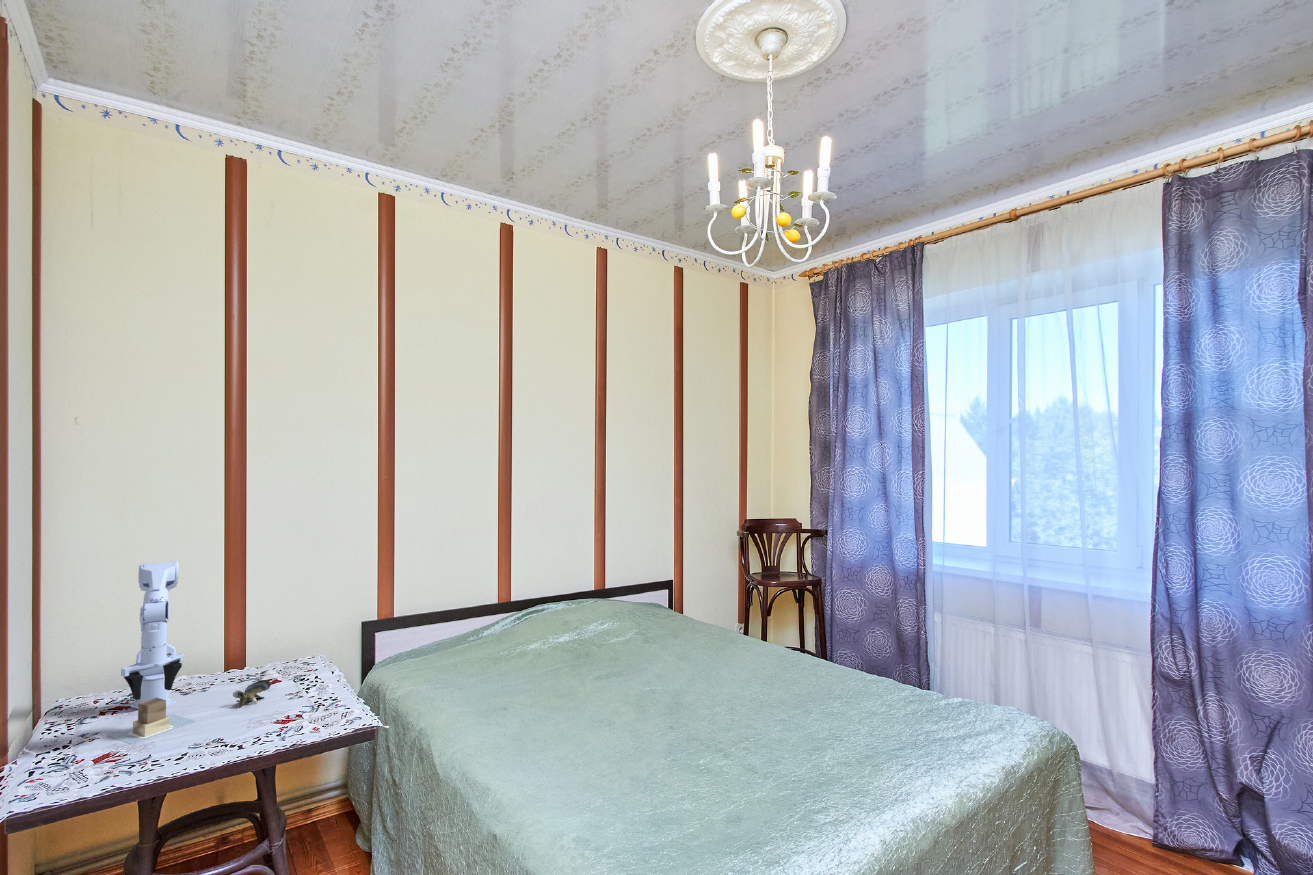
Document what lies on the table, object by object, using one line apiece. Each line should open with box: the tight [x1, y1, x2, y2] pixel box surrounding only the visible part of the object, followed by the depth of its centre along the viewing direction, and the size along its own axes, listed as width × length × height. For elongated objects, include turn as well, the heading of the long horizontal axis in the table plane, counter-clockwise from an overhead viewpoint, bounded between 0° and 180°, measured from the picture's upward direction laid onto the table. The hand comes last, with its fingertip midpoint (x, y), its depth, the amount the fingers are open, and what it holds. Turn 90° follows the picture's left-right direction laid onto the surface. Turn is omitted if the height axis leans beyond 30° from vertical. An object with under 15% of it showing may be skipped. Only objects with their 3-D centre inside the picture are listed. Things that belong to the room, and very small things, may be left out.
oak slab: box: [132, 715, 170, 737], centre depth 174 cm, size 6×6×3 cm
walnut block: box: [137, 698, 167, 724], centre depth 174 cm, size 4×4×5 cm
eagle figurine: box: [232, 679, 272, 709], centre depth 195 cm, size 8×7×9 cm
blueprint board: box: [107, 713, 197, 745], centre depth 176 cm, size 12×16×1 cm
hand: (152, 694), depth 175 cm, fingers open, 7 cm apart
